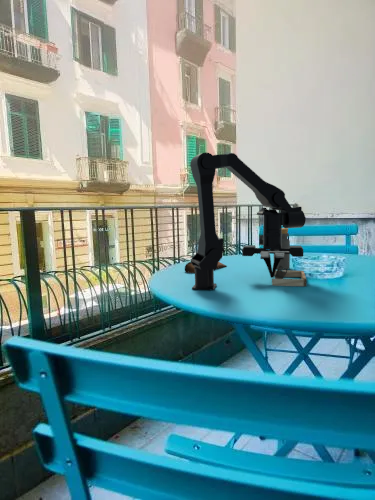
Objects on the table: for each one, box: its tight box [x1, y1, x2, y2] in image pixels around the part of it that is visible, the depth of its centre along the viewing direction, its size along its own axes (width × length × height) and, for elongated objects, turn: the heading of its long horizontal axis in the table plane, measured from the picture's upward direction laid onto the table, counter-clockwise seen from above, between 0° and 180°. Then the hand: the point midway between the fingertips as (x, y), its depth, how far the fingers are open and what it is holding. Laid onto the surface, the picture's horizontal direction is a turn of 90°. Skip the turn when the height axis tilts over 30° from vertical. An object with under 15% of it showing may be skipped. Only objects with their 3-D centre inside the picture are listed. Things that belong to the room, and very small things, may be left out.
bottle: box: [273, 227, 291, 271], centre depth 135 cm, size 6×6×15 cm
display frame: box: [271, 269, 308, 287], centre depth 116 cm, size 14×10×2 cm
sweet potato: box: [184, 261, 227, 274], centre depth 139 cm, size 18×7×7 cm, turn 144°
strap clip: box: [273, 266, 288, 279], centre depth 116 cm, size 8×3×4 cm, turn 173°
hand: (272, 277), depth 117 cm, fingers closed
